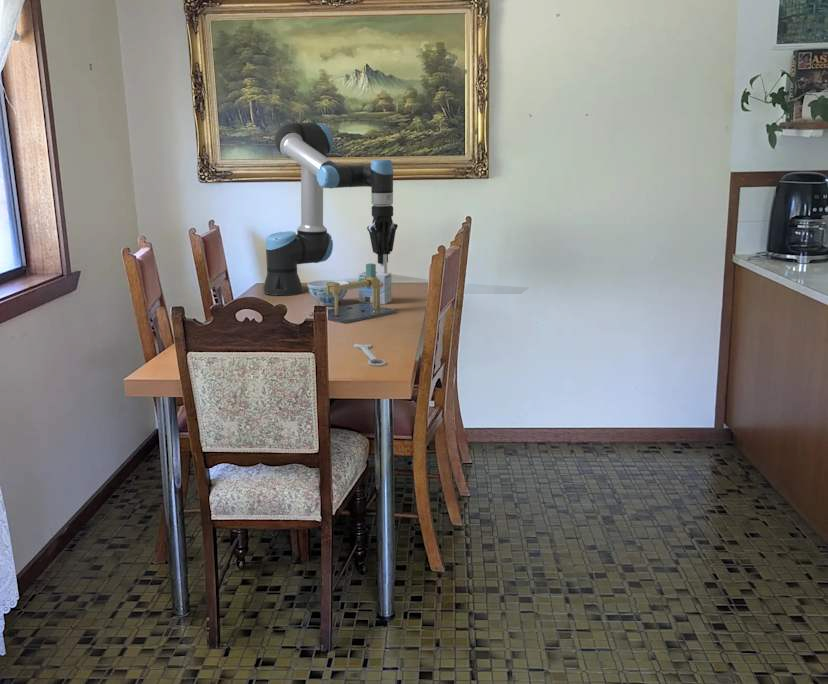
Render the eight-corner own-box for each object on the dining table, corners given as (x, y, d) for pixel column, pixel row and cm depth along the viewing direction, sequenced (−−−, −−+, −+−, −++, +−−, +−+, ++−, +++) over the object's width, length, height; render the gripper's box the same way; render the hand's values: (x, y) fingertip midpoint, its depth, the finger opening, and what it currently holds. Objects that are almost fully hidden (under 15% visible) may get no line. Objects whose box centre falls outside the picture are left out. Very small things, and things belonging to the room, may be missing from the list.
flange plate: (309, 315, 293) (309, 312, 293) (361, 305, 310) (361, 302, 310) (344, 323, 281) (344, 320, 281) (396, 312, 298) (396, 309, 298)
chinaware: (319, 299, 323) (319, 279, 321) (356, 301, 317) (355, 281, 315) (300, 306, 309) (300, 285, 307) (338, 309, 304) (337, 288, 302)
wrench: (369, 347, 253) (352, 348, 252) (369, 342, 253) (352, 342, 252) (388, 367, 230) (369, 368, 228) (388, 361, 229) (369, 362, 228)
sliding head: (365, 306, 302) (364, 263, 298) (369, 305, 303) (369, 263, 300) (372, 308, 299) (372, 265, 295) (377, 307, 301) (377, 264, 297)
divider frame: (327, 314, 289) (326, 282, 287) (374, 305, 305) (374, 274, 302) (334, 316, 287) (334, 283, 284) (382, 307, 302) (382, 276, 300)
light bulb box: (358, 302, 316) (358, 273, 314) (365, 299, 322) (365, 271, 320) (385, 304, 313) (385, 275, 310) (392, 301, 319) (392, 272, 316)
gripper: (376, 206, 290) (377, 275, 295) (403, 204, 299) (403, 271, 305) (361, 205, 295) (362, 273, 300) (388, 203, 304) (388, 269, 310)
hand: (383, 272), depth 302 cm, fingers closed
